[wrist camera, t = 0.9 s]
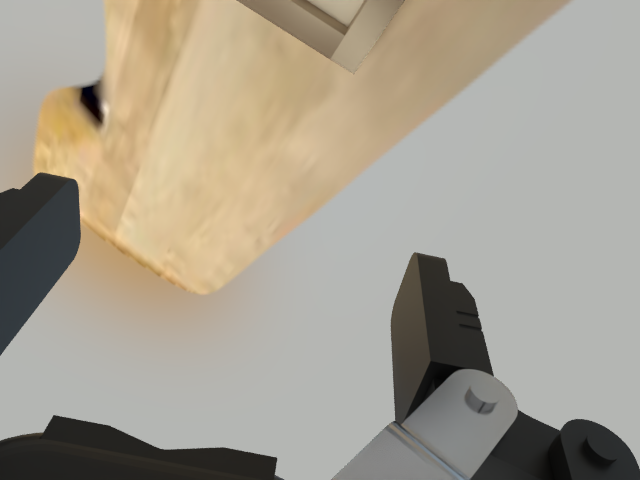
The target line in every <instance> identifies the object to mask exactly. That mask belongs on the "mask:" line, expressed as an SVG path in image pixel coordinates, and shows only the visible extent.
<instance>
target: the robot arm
mask: <svg viewBox="0 0 640 480" xmlns="http://www.w3.org/2000/svg"><path fill="white" fill-rule="evenodd" d="M80 237H81V232H80V210H79V190H78V184H77V182H76V180H74V179H71V178H66V177H61V176H56V175H52V174H47V173H38V174H37V175H36V176H35V177H33V178H32V179H31V180H30V181H29V182H28V183H27V184H26V185H25V186H23V187H22V189H20V190H19V189H14V188H12V189H10V190H7V191H4V192H2V193H0V355H1V354H2V353H3V351H4V350H5V348H6V347H7V346H8V345H9V343H10V342H11V341H12V339H13V338H14V337H15V336H16V334H17V333H18V332H19V330H20V329H21V327H22V326H23V325H24V324H25V322H26V321H27V320H28V319H29V317H30V316H31V315H32V313H33V312H34V311H35V309H36V308H37V307H38V306H39V304H40V303H41V302H42V300H43V299H44V298H45V296H46V295H47V294H48V292H49V291H50V290H51V289H52V287H53V286H54V285H55V283H56V282H57V281H58V279H59V278H60V277H61V275H62V274H63V273H64V271H65V270H66V269H67V268H68V266H69V265H70V264H71V262H72V261H73V260H74V258H75V256H76V254H77V251H78V248H79V244H80ZM478 316H479V315H478V311H477V307H476V303H475V299H474V298H473V297H472V295H471V294H470V293H469V291H468V290H467V289H466V287H465V286H464V285H463V284H462V283H458V282H453V281H450V277H449V272H448V267H447V262H446V260H445V259H444V258H439V257H434V256H429V255H425V254H420V253H413V255H412V257H411V259H410V261H409V264H408V267H407V269H406V272H405V275H404V278H403V280H402V283H401V286H400V289H399V291H398V294H397V297H396V300H395V303H394V306H393V311H392V317H391V341H392V361H393V382H394V401H395V402H394V403H395V421H393V422H391V423H390V424H389V425H387V426H386V427H385V428H384V429H383V430H382V431H381V432H380V433H379V434H378V435H377V436H376V437H375V438H374V439H373V440H372V441H371V442H370V443H369V444H368V445H367V446H365V447H364V448H363V450H361V451H360V452H359V453H358V454H357V455H356V456H355V457H354V458H353V459H352V460H351V461H350V462H349V463H348V464H347V465H346V466H345V467H344V468H343V469H342V470H340V471H339V472H338V473H337V474H336V475H335V476H334V477H333V478H332V479H331V480H640V469H639V466H638V464H637V461H636V459H635V457H634V455H633V453H632V452H631V450H630V449H629V447H628V446H627V445H626V444H625V443H624V442H623V441H622V440H621V439H620V438H619V437H618V436H617V435H615V434H614V433H613V432H612V431H610V430H609V429H607V428H606V427H604V426H602V425H600V424H598V423H595V422H592V421H589V420H584V419H575V420H571V421H568V422H567V423H566V424H565V425H564V426H563V428H562V429H561V430H560V431H559V430H557V429H555V428H553V427H551V426H549V425H546V424H544V423H542V422H540V421H538V420H536V419H533V418H531V417H530V416H528V415H526V414H524V413H522V412H521V411H519V410H518V407H517V403H516V400H515V398H514V396H513V395H512V393H511V392H510V390H509V389H508V388H507V387H506V386H505V385H504V384H503V383H502V382H501V381H499V380H498V379H497V378H495V377H494V375H493V371H492V367H491V363H490V359H489V355H488V351H487V347H486V343H485V339H484V335H483V332H482V331H481V329H482V327H481V323H480V319H479V318H478ZM276 462H277V458H276V457H271V456H265V455H260V454H254V453H250V452H244V451H239V450H234V449H229V448H200V449H199V448H198V449H175V450H164V449H159V448H157V447H154V446H152V445H150V444H148V443H146V442H143V441H141V440H139V439H137V438H135V437H133V436H130V435H128V434H126V433H124V432H122V431H119V430H117V429H115V428H113V427H111V426H108V425H103V424H97V423H92V422H86V421H81V420H76V419H71V418H66V417H60V416H55V415H54V416H53V417H52V419H51V421H50V422H49V424H48V426H47V428H46V429H45V431H44V433H33V434H26V435H20V436H16V437H11V438H7V439H4V440H1V441H0V480H284V479H282V478H280V477H278V476H276V475H275V469H276Z"/></svg>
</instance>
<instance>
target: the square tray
mask: <svg viewBox="0 0 640 480" xmlns="http://www.w3.org/2000/svg"><path fill="white" fill-rule="evenodd" d="M237 1H239V2H240V3H242V4H243V5H245V6H247V7H248V8H250V9H251V10H253V11H254V12H256V13H258V14H259V15H261V16H262V17H264V18H266V19H267V20H269V21H270V22H272V23H273V24H275V25H277V26H278V27H280V28H281V29H283V30H285V31H286V32H288V33H289V34H291V35H292V36H294V37H296V38H297V39H299V40H300V41H302V42H303V43H305V44H307V45H308V46H310V47H311V48H313V49H315V50H316V51H318V52H319V53H321V54H322V55H324V56H326V57H327V58H329V59H330V60H332V61H334V62H335V63H337V64H338V65H340V66H341V67H343V68H345V69H346V70H348V71H349V72H351V73H353V74H355V72H356V71H357V69H358V68H359V66H360V65H361V63H362V62H363V60H364V59H365V58H366V56H367V55H368V53H369V52H370V50H371V49H372V47H373V46H374V44H375V43H376V41H377V40H378V39H379V37H380V36H381V34H382V33H383V31H384V30H385V28H386V27H387V25H388V24H389V22H390V21H391V20H392V18H393V17H394V15H395V14H396V12H397V11H398V9H399V8H400V6H401V5H402V4H403V2H404V1H405V0H237Z"/></svg>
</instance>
